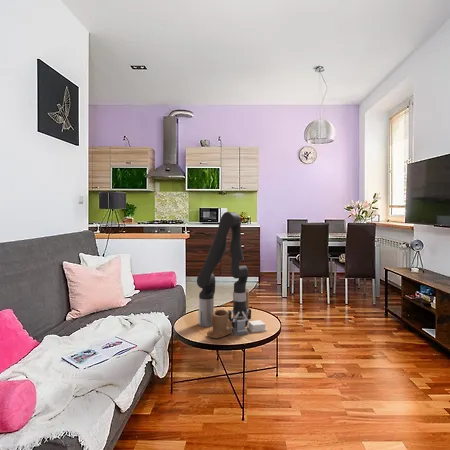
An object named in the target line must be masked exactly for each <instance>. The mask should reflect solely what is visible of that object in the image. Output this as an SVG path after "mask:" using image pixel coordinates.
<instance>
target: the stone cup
mask: <svg viewBox="0 0 450 450" xmlns="http://www.w3.org/2000/svg"><path fill="white" fill-rule="evenodd" d="M229 321H230V320H229V314H228V310H226V309H216V310H214V312H213V313H212V315H211V323H212V326H211V327H212V330H209V331H207V332H206V336H208V337H210V338H211V339H218V338H219V339H220V338H223V337H225V336H228V335H231V334H233V332H232V331H231V328H230V327H229V326H228V323H229Z"/></svg>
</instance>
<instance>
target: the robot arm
mask: <svg viewBox="0 0 450 450" xmlns="http://www.w3.org/2000/svg"><path fill="white" fill-rule="evenodd" d="M241 222H242V221H241V216H240V214H239V213H238V212H235V211H234V212H232V211H225V212H224V213H223V214H222V215H221V216H220V220H219V224H218V227H217V231H216V234H215V237H214V239H213V242H212V243H211V246H210V248H209V251H208V253H207V256H206V259H205V261H204V263H203V266H202V268H201V270H200V271H199V274H198V276H197V278H196V285H197V286H198V288H200V289H201V291H200V292H199V294H198V326H199V327H204V328H208V327H212V323H211V315H212V313H213V312H214V311H215V307H214V306H215V305H214V304H215V302H214V301H215V299H214V298H215V297H214V296H215V293H216V277H215V274H214V270H215V269H216V268H217V267H218V265H219V264H220V263H221V261H222V260H223V258H224V255H225V253H226V250H227V237H228V234H229V231H231V241H230V245H229V246H230V248H229V251H230V257H231V258H230V259H231V262H230V275H231V276H232V278H233V279H238V280H236V281H235V282H234V283H233V292H234V295H233V294H232V309H231V310H230V309H229V310H227V312H228V314H229V320H228V321H229V322H231V328H235V322H234V321H235V319H236V318H237V317H244V318H245V319H246V321H245V328H248V327H247V326H248V324H249V321H250V320H251V319H252V309H251V308H249V309H246V289H247V288H246V286H247V285H246V284H247V282H248V278H249V269H248V267H247V265H240V263H241V262H242V261H244V255H243V247H242V246H243V245H242V239H241V238H242V229H241V228H242V227H241V226H242V225H241V224H242V223H241ZM246 311H247V312H248V317H246V315H245V313H246ZM233 313H234V315H233ZM248 320H249V321H248Z"/></svg>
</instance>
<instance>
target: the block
mask: <svg viewBox="0 0 450 450" xmlns="http://www.w3.org/2000/svg"><path fill="white" fill-rule="evenodd" d="M233 295H234V291H233V292H232V296H233ZM246 309H250V290H249V288H246ZM233 315H234V313H232V316H233ZM245 315H246V317H248V312H247V311H246V313H245ZM249 321H250V319H249V320H248V322H249Z"/></svg>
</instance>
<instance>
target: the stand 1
mask: <svg viewBox="0 0 450 450" xmlns="http://www.w3.org/2000/svg"><path fill="white" fill-rule="evenodd" d="M245 329H246V331H242V332H237V331H236V330H235V328H233V327H230V330H231V331H232V334H233V335H234V336H244V335H245V336H246V335H249V330H248V328H247V327H245Z"/></svg>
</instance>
